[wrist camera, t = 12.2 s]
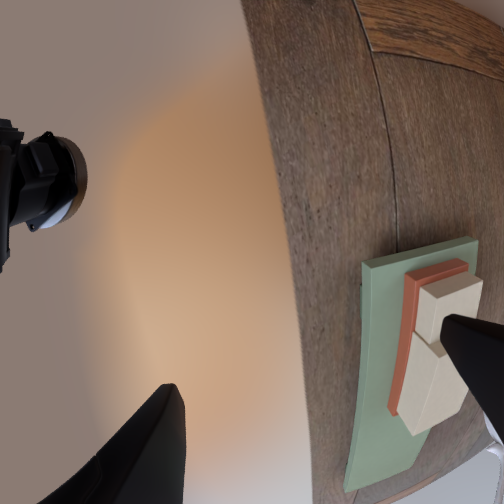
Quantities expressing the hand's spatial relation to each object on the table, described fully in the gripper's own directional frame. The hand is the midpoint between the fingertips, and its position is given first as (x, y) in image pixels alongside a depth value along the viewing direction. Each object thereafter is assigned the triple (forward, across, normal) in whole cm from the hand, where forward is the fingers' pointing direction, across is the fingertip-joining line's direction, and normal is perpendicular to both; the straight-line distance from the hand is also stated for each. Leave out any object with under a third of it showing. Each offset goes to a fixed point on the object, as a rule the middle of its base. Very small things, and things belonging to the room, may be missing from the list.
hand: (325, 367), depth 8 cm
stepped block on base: (+9, -11, +9) cm, 17 cm away
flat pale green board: (+12, -12, +19) cm, 26 cm away
